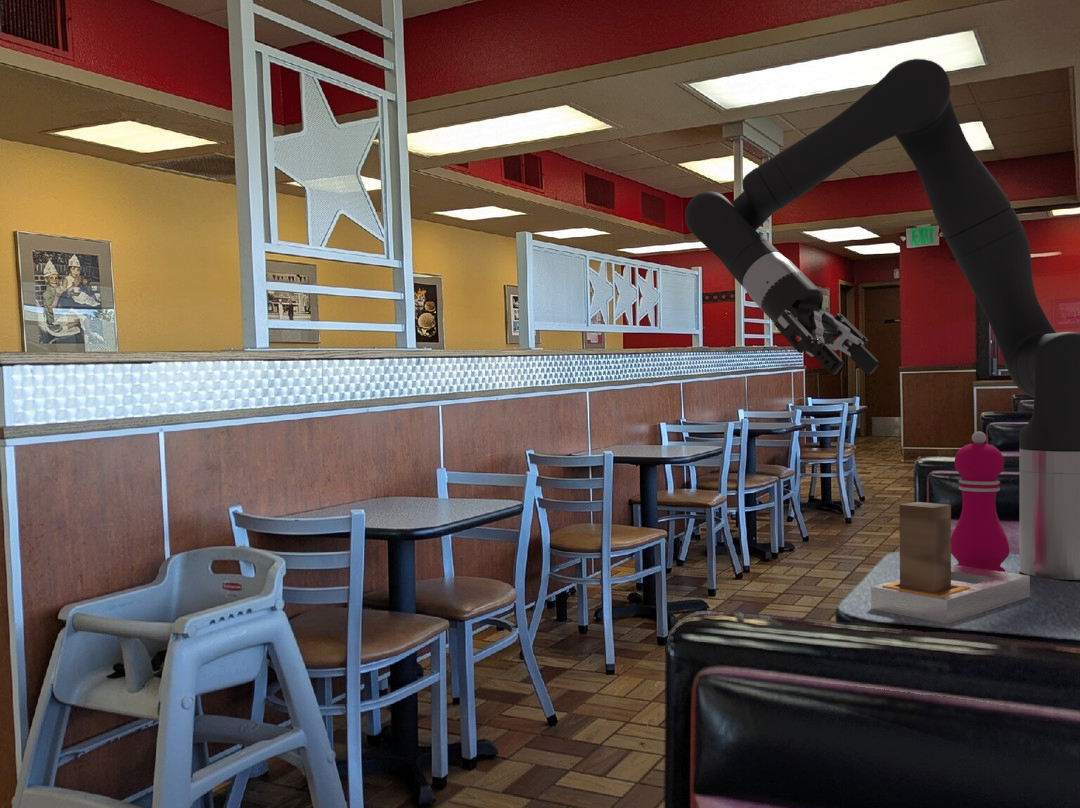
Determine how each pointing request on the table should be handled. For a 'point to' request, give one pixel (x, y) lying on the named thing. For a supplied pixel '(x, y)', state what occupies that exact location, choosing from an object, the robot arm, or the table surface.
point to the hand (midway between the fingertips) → (856, 369)
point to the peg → (925, 546)
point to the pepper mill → (979, 507)
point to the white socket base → (953, 595)
